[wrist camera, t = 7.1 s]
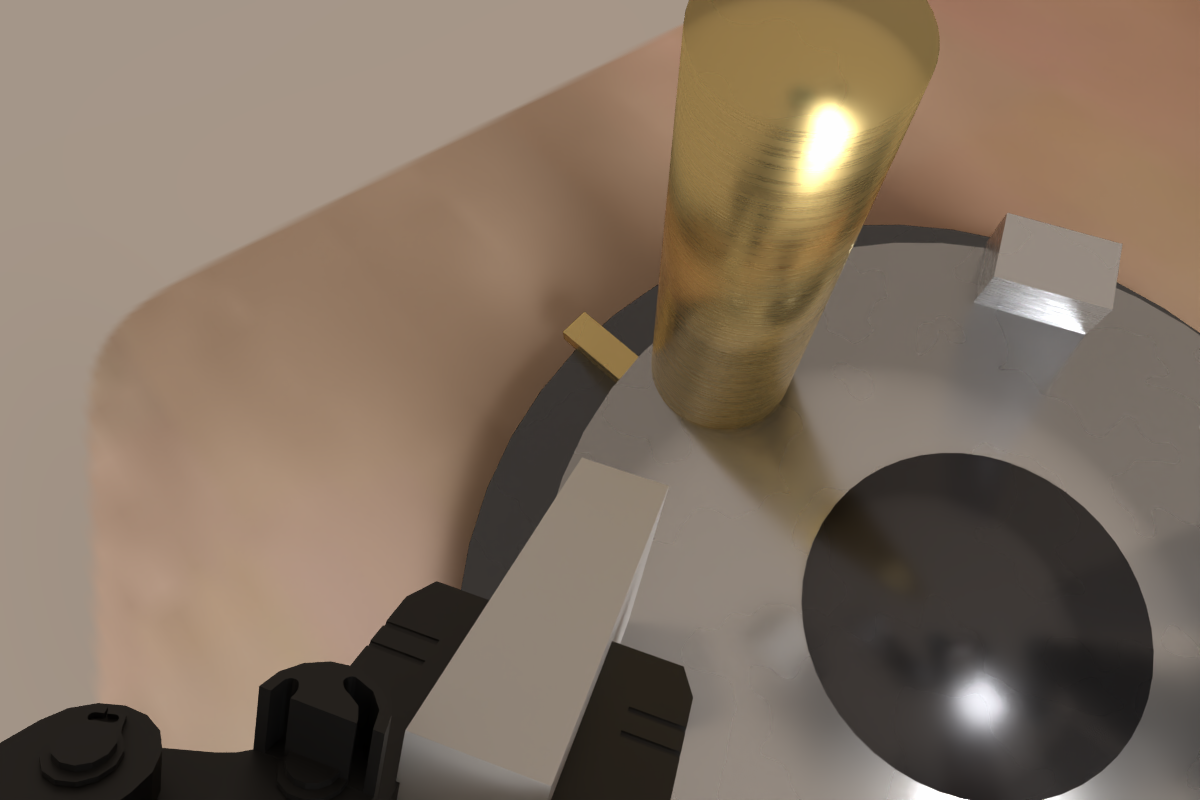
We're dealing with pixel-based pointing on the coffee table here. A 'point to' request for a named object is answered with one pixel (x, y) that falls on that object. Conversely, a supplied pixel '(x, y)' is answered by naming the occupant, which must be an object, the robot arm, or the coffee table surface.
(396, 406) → the coffee table surface
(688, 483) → the lugged metal disc
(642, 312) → the base plate
